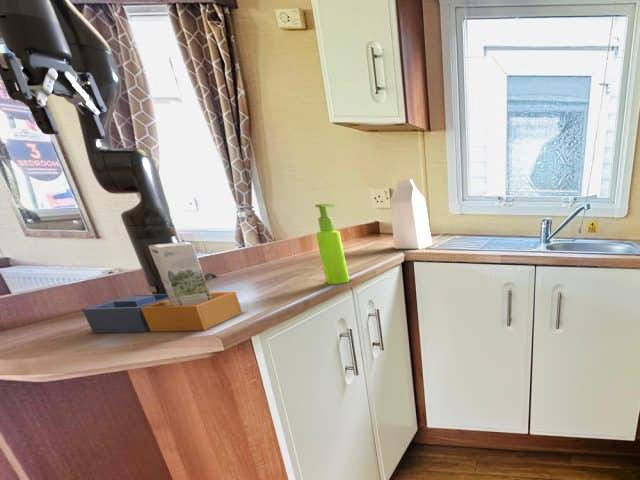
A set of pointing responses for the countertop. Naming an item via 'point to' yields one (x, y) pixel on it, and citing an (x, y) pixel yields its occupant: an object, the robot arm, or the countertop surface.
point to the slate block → (134, 301)
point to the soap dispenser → (331, 249)
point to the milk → (409, 217)
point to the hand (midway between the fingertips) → (75, 136)
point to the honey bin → (192, 313)
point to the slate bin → (119, 316)
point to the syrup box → (180, 273)
